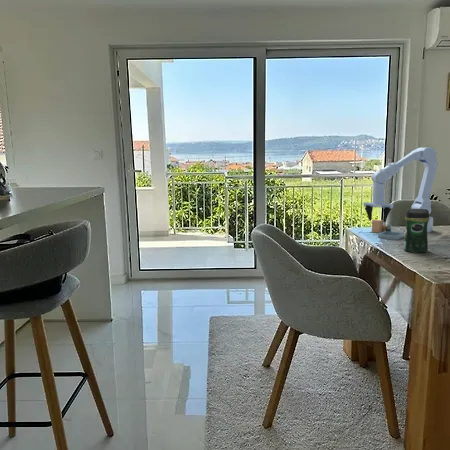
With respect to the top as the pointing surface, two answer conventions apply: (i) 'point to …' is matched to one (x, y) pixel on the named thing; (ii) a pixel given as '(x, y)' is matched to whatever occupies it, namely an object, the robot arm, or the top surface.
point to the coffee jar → (416, 230)
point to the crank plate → (392, 231)
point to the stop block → (377, 225)
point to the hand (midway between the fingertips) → (377, 221)
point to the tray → (391, 235)
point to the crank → (386, 227)
